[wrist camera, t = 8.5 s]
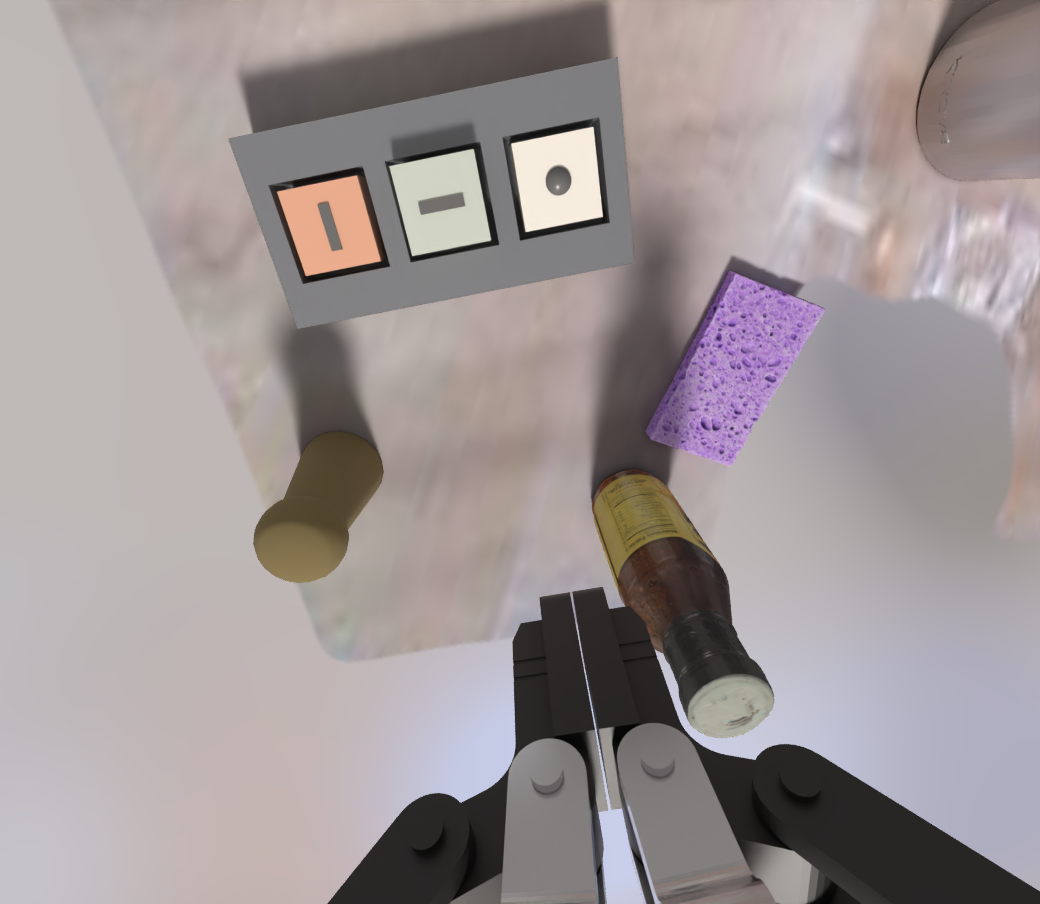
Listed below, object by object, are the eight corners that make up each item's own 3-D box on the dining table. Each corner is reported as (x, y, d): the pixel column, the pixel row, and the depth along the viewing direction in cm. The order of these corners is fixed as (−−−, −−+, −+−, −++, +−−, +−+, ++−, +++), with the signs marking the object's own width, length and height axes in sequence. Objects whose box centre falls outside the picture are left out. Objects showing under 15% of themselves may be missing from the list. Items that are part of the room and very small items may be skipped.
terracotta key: (366, 177, 30) (356, 175, 28) (388, 257, 32) (380, 261, 30) (292, 192, 30) (276, 191, 28) (318, 271, 32) (305, 276, 30)
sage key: (474, 153, 29) (473, 148, 27) (490, 237, 31) (491, 240, 29) (396, 169, 29) (389, 166, 27) (417, 252, 31) (411, 256, 29)
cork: (291, 486, 40) (225, 580, 30) (313, 418, 38) (250, 495, 28) (368, 513, 41) (329, 611, 31) (394, 449, 39) (361, 533, 29)
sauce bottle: (660, 531, 43) (781, 763, 25) (585, 532, 43) (653, 766, 25) (673, 460, 41) (818, 663, 23) (592, 459, 40) (675, 665, 22)
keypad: (603, 72, 30) (617, 56, 27) (621, 257, 34) (634, 262, 31) (255, 145, 30) (228, 138, 27) (315, 317, 35) (297, 328, 32)
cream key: (585, 132, 30) (593, 126, 28) (595, 216, 32) (603, 216, 29) (509, 148, 30) (511, 143, 28) (523, 230, 32) (526, 232, 30)
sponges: (642, 429, 40) (649, 439, 38) (726, 266, 35) (738, 269, 33) (722, 457, 41) (732, 468, 40) (813, 303, 37) (829, 308, 35)
